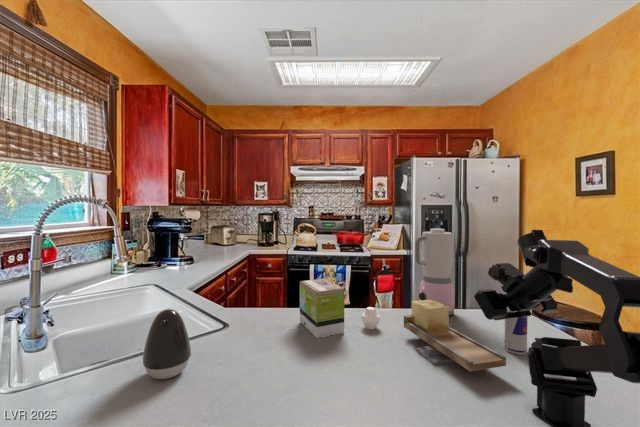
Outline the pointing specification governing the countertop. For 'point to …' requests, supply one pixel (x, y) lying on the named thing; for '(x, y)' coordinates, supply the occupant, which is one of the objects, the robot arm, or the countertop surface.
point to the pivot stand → (434, 355)
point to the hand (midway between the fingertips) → (494, 318)
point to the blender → (436, 267)
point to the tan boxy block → (430, 316)
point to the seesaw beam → (459, 348)
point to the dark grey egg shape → (166, 346)
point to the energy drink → (516, 335)
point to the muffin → (370, 318)
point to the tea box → (322, 307)
